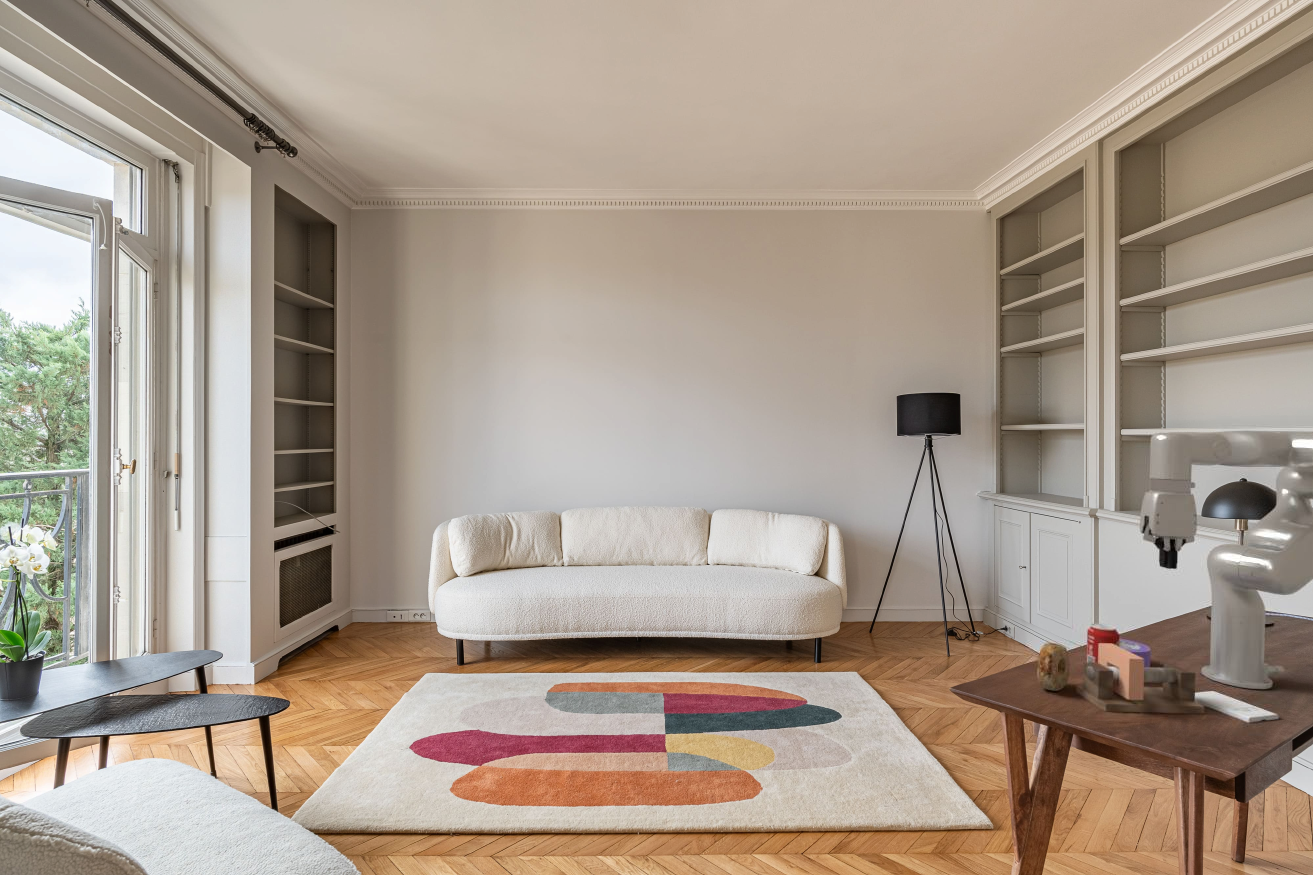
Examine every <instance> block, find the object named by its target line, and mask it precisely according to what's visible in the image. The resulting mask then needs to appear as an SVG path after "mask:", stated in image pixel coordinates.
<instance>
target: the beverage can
mask: <svg viewBox="0 0 1313 875" xmlns="http://www.w3.org/2000/svg"><path fill="white" fill-rule="evenodd" d="M1086 632H1087V633H1086V634H1087V635H1086V638H1087V639H1086V663H1098V645H1099V643H1109V644H1114V645H1116V646H1118V647H1119V639H1120V633H1119V632H1118V631H1117V627H1115V626H1114V625H1110V624H1106V623H1098V622H1097V623H1094V622H1093V623H1091V624H1090V626H1089V628H1088V629H1087V631H1086Z"/></svg>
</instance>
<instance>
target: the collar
mask: <svg viewBox="0 0 1313 875" xmlns="http://www.w3.org/2000/svg"><path fill="white" fill-rule="evenodd" d="M1098 663H1099V664H1101V665H1103V666H1105V667H1118V668H1119V682H1114V681H1113V691H1114V692H1116V693H1118V694H1120V695H1121V696H1123V697H1125V698H1126V699H1128V700H1143V689H1144V687H1145V686H1144V683H1145V682H1144V659H1143V658H1141V657H1139V656H1137V655H1135V654H1133V653H1131V652H1129V651H1127V650H1125V649H1122V648H1120V647H1118V646H1116V645H1114V644H1109V643H1099V645H1098Z"/></svg>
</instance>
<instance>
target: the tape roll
mask: <svg viewBox="0 0 1313 875" xmlns="http://www.w3.org/2000/svg"><path fill="white" fill-rule="evenodd" d="M1119 647H1120V648H1122V649H1125V650H1127V651H1129V652H1131V653H1133V654H1135V655H1137V656H1139V657H1141V658H1143V659H1144V667H1151V648H1150V647H1149V646H1148V645H1145V644H1144V643H1140V642H1137V641H1133V640H1130V639H1124V638H1119Z"/></svg>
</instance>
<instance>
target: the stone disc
mask: <svg viewBox="0 0 1313 875" xmlns="http://www.w3.org/2000/svg"><path fill="white" fill-rule="evenodd" d="M1036 672H1037V674H1036V676H1037V680H1038V683H1039V685H1040V687H1041V688H1043V689H1044V690H1048V691H1051V692H1053V691H1055V692H1058V691H1060V690H1063V688H1064V687H1065V686H1066V685H1067V683H1068V681H1069V677H1070V659H1069V653H1068V650H1067V648H1066V647H1065V646H1064V645H1061V644H1059V643H1055V642H1046V643H1044V644H1043V646H1042V647H1041V649H1040V650H1039V652H1038V658H1037V671H1036Z"/></svg>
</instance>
